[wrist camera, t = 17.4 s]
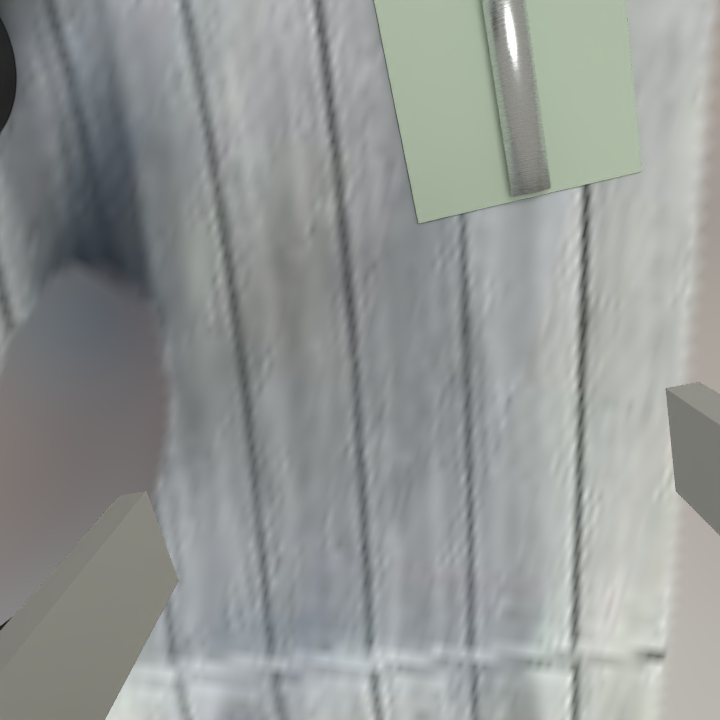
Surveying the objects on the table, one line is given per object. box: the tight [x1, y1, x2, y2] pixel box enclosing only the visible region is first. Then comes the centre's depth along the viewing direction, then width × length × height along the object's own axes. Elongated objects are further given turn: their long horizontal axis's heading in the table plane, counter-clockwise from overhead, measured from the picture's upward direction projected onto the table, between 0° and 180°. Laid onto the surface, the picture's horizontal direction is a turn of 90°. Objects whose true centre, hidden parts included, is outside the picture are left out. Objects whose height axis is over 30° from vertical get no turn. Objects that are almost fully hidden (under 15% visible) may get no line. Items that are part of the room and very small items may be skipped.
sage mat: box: [374, 0, 642, 223], centre depth 44 cm, size 28×18×1 cm, turn 13°
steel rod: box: [482, 0, 551, 197], centre depth 42 cm, size 24×3×3 cm, turn 13°
